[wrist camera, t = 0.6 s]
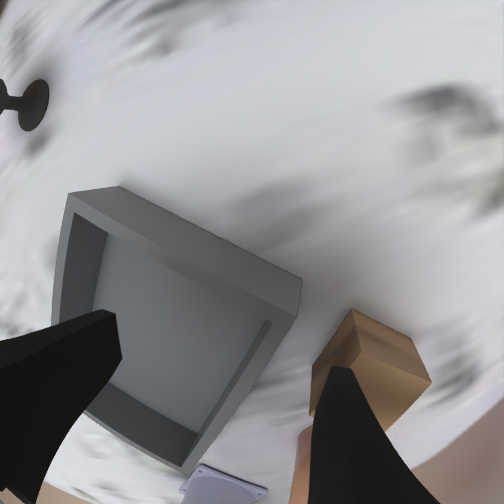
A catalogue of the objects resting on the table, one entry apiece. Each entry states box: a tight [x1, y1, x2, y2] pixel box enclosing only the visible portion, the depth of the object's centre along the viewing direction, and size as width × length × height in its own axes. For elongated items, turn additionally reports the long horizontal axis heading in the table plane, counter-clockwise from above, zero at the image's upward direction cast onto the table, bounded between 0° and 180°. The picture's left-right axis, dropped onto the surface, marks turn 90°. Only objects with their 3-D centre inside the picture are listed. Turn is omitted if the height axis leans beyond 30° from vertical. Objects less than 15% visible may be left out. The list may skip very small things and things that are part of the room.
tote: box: [51, 186, 302, 475], centre depth 19 cm, size 18×14×5 cm
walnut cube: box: [309, 309, 432, 432], centre depth 16 cm, size 5×5×5 cm
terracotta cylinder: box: [289, 425, 313, 504], centre depth 18 cm, size 5×5×7 cm
